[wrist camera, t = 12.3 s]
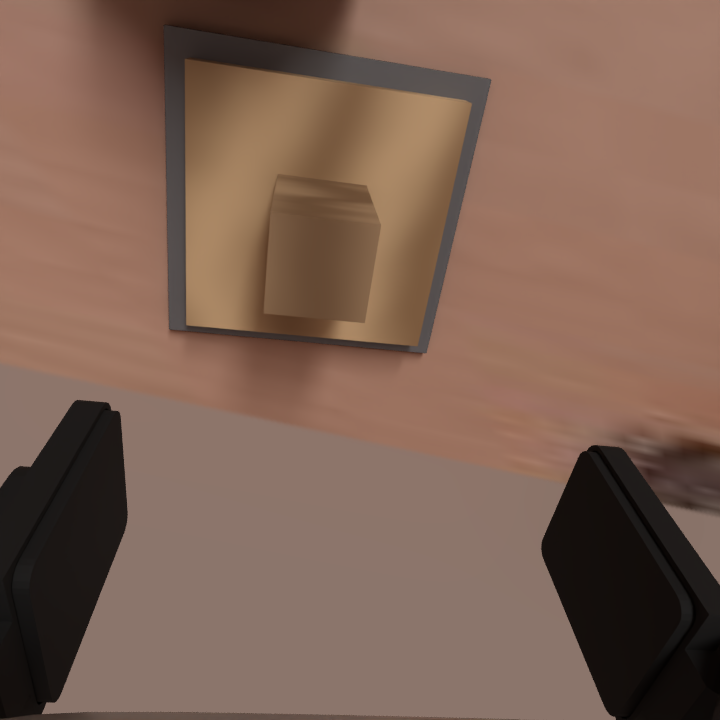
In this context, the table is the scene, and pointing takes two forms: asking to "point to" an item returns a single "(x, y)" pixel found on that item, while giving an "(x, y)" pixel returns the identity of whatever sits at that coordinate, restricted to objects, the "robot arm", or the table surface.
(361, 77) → the charcoal mat
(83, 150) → the table surface
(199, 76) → the oak lid
